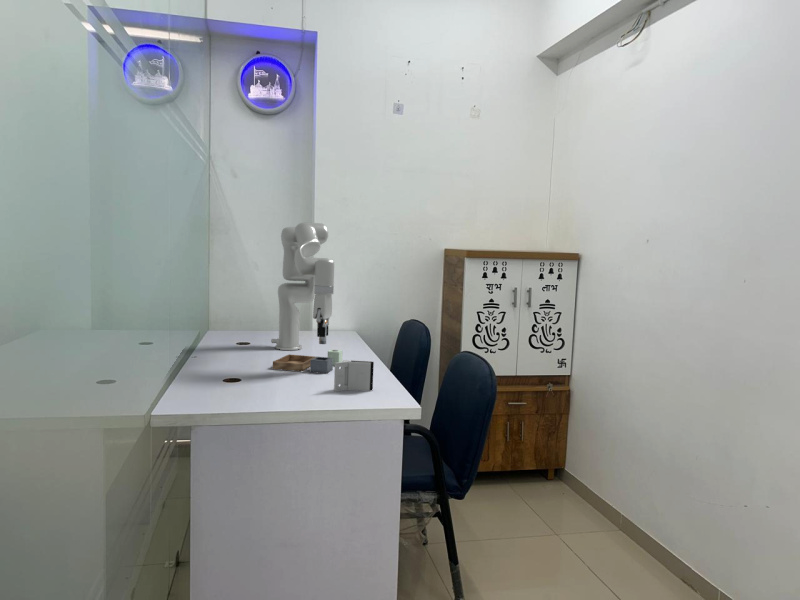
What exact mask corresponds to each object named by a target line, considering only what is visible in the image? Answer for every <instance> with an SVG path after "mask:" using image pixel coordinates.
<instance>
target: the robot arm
mask: <svg viewBox="0 0 800 600" xmlns="http://www.w3.org/2000/svg"><path fill="white" fill-rule="evenodd" d="M280 234H281V235H280V238H281V244H282V249H283V261H282V277H283V279H284V280H286V281H290V282H283V283H281V284H280V285H279V286H278V289H277V297H278V305H279V306H278V308H279V311H278V313H279V314H278V317H279V318H278V319H279V320H278V321H279V322H278V338H277V339H276V338H271V339H270V342H271V344H275V347H274V348H275V349H276V350H279V349H280V351H298V349H299V350H301V349H303V346H302V344H300V310H299V308H298V307H297V306H296V305H295V304H296V303H297V304H303V303H312V302H313V310H312V318H313V319H314V320H316V323H317V324H316V327H317V329H316V330H317V332H316V336H317V337H318V338H319V337H325V329H326V327H325V319H327V332H326V337H327V336H329V325H330V324H329V323H330V321H329V320H330V318H331V317H332V314H333V296H332V295H334V291H335V290H334V287H335V286H334V284H335V262H334V260H333V259H331V258H330V259H329V258H328V257H327V258H326V257H312V256H315V255H317V253H319V251H320V249H321V245H322V244H324V243H326V242H327V240H328V239H329V230H328V228H327V226H326V225H325V224H324V223H318V222H299V223H298V224H297V225H296V226H286V227H284V228H282V229H281V233H280ZM291 281H293V282H291ZM321 318H323V319H321ZM322 321H323V322H322Z"/></svg>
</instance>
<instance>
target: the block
mask: <svg viewBox="0 0 800 600" xmlns="http://www.w3.org/2000/svg"><path fill="white" fill-rule="evenodd" d="M333 368H334V366H333V358H328V356H327V357H326V356H315V358H313V359H311V364H310V368H309V370H310V371H309V372H310V373H314V372H318V373H317V374H326V373H327V374H329V373H330V372H332V371H333V370H334V369H333Z"/></svg>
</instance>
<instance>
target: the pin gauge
mask: <svg viewBox="0 0 800 600" xmlns="http://www.w3.org/2000/svg"><path fill="white" fill-rule="evenodd" d="M321 319H323V318H321ZM322 322H323V321H322ZM325 327H326V329H325V337H318V340H319V341H318V344H319V345H326V344H327V336H326V332H327V319H325Z"/></svg>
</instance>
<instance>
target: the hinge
mask: <svg viewBox="0 0 800 600" xmlns="http://www.w3.org/2000/svg"><path fill="white" fill-rule="evenodd" d="M374 363H375V362H374V361H373V360H355V359H354V360H352V359H350V360H347V359H345V360H343V359H342V362H337V363H335V366H334V375H333V376H334V383H333V391H334V392H340V391H358V390H367V391H366V392H370V390H372V389H373V388H374V366H375V365H374ZM372 391H373V390H372Z"/></svg>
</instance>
